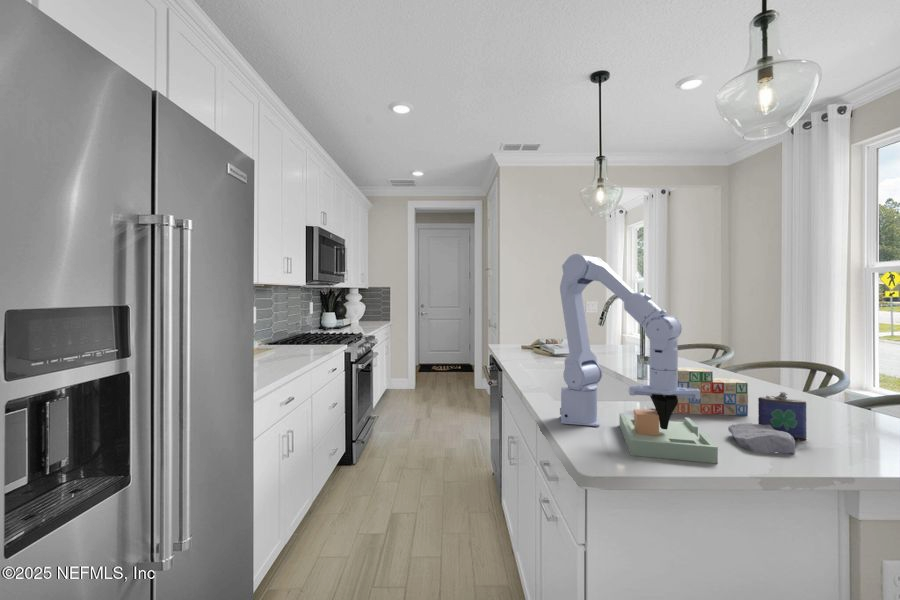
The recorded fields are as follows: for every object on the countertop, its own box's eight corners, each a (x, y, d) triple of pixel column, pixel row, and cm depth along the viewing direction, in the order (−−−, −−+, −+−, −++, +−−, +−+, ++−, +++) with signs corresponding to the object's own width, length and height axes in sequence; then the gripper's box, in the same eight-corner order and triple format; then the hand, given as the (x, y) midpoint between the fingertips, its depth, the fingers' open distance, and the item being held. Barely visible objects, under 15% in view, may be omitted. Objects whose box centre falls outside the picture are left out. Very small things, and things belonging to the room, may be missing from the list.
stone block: (750, 461, 90) (802, 454, 88) (745, 439, 90) (796, 432, 88) (723, 444, 101) (768, 438, 100) (719, 424, 102) (763, 417, 100)
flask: (804, 437, 99) (804, 392, 99) (809, 441, 96) (809, 394, 96) (756, 432, 102) (756, 389, 102) (760, 436, 100) (760, 391, 99)
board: (630, 455, 88) (630, 439, 88) (619, 425, 108) (619, 412, 108) (717, 463, 84) (717, 447, 84) (688, 430, 104) (689, 417, 104)
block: (637, 434, 95) (637, 414, 95) (634, 428, 100) (634, 409, 100) (659, 435, 94) (658, 415, 94) (655, 429, 98) (654, 410, 98)
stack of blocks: (736, 410, 123) (736, 368, 123) (748, 416, 117) (748, 372, 116) (658, 407, 126) (658, 366, 126) (665, 413, 120) (665, 370, 120)
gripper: (631, 370, 94) (631, 430, 94) (704, 373, 90) (704, 436, 91) (627, 365, 101) (627, 421, 101) (695, 367, 97) (695, 426, 97)
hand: (663, 428), depth 96 cm, fingers closed
